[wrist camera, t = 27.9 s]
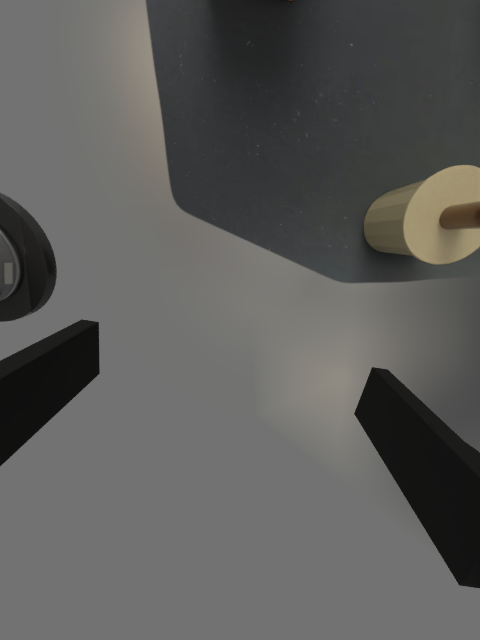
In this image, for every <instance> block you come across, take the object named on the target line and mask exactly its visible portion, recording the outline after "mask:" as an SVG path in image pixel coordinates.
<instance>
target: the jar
mask: <svg viewBox="0 0 480 640" xmlns="http://www.w3.org/2000/svg"><path fill="white" fill-rule="evenodd" d="M424 181H425V180H424ZM424 181H421V182H418V183H414V184H411V185H408V186H405V187H402V188H399V189H395V190H392V191H389V192H387V193H385V194H384V195H382V196H380V197H379V198H378V199H377V200H376V201H375V202H374V203H373V204H372V205H371V206H370V208H369V210H368V212H367V214H366V216H365V220H364V235H365V238H366V240H367V242H368V244H369V245H370V246H371V247H372V248H373V249H375V250H377V251H379V252H383V253H389V254H397V255H405V256H413V255H412V254H411V253H410V252H409V251H408V250H407V248H406V246H405V244H404V242H403V238H402V233H401V222H402V216H403V212H404V209H405V207H406V204H407V202H408V201H409V199H410V197H411V196H412V194H413V193H414V191H415V190H416V189H417V188H418V187H419V186H420V185H421V184H422V183H423V182H424Z"/></svg>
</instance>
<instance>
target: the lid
mask: <svg viewBox="0 0 480 640" xmlns="http://www.w3.org/2000/svg"><path fill="white" fill-rule="evenodd" d="M401 233H402V238H403V242H404V244H405V246H406V248H407V250H408V251H409V252H410V253H411V254H412V255H413V256H414V257H415V258H417V259H418V260H420V261H423V262H425V263H430V264H448V263H452V262H455V261H458V260H460V259H463V258H464V257H466V256H468V255H470V254H471V253H472V252H474V251H475V250H476V249H477V248H478V247H480V168H478V167H475V166H470V165H458V166H453V167H449V168H446V169H443V170H441V171H439V172H437V173H435V174H433V175H432V176H430V177H429V178H427V179H426V180H425V181H424V182H423V183H422V184H421V185H420V186H419V187H418V188H417V189H416V190H415V191H414V193H413V194H412V196H411V197H410V199H409V201H408V202H407V204H406V207H405V209H404V212H403V216H402V222H401Z"/></svg>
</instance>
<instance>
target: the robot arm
mask: <svg viewBox="0 0 480 640" xmlns="http://www.w3.org/2000/svg"><path fill="white" fill-rule="evenodd" d="M23 277H24V264H23V259H22V256H21V253H20V251H19V248H18V247H17V245H16V243H15V241H14V240H13V238H12V237H11V236H10V235H9V233H8V232H7V231H6V230H5V229H4V228H3V227H2V226H1V225H0V301H2V300H5V299H8V298H10V297H11V296H13V295H14V294H15V293H16V292H17V291H18V290H19V288H20V286H21V284H22V281H23ZM98 374H99V323H98V322H94V321H88V320H80V321H78V322H76V323H74V324H72V325H70V326H68V327H67V328H64V329H62V330H60V331H58V332H57V333H55V334H53V335H51V336H49V337H47V338H45V339H43V340H41V341H39V342H37V343H35V344H33V345H31V346H29V347H27V348H25V349H23V350H21V351H19V352H17V353H15V354H13V355H11V356H9V357H7V358H5V359H3V360H1V361H0V466H1V465H2V464H3V463H4V462H5V461H6V460H8V459H9V458H10V456H12V455H13V454H14V453H15V452H16V451H17V450H18V449H19V448H20V447H21V446H22V445H24V444H25V443H26V442H27V441H28V440H29V439H30V438H31V437H32V436H33V435H34V434H35V433H36V432H37V431H39V429H40V428H42V426H44V425H45V424H46V423H47V422H48V421H49V420H50V419H51V418H52V417H54V416H55V415H56V414H57V413H58V412H59V411H60V410H61V409H62V408H63V407H64V406H65V405H66V404H67V403H68V402H70V400H72V399H73V398H74V397H75V396H76V395H77V394H78V393H79V392H80V391H81V390H82V389H83V388H85V387H86V386H87V385H88V384H89V383H90V382H91V381H92V380H93V379H94V378H95V377H96V376H97V375H98ZM354 414H355V416H356V417H357V418H358V420H359V422H360V424H361V425H362V427H363V429H364V430H365V432H366V434H367V435H368V437H369V438H370V440H371V442H372V443H373V445H374V447H375V448H376V450H377V451H378V453H379V455H380V456H381V458H382V460H383V461H384V463H385V464H386V466H387V468H388V469H389V471H390V473H391V474H392V476H393V478H394V479H395V481H396V482H397V484H398V486H399V487H400V489H401V491H402V492H403V494H404V496H405V497H406V499H407V500H408V502H409V504H410V505H411V507H412V509H413V510H414V512H415V514H416V515H417V517H418V518H419V520H420V522H421V523H422V525H423V527H424V528H425V530H426V532H427V533H428V535H429V536H430V538H431V540H432V541H433V543H434V545H435V546H436V548H437V550H438V551H439V553H440V554H441V556H442V558H443V559H444V561H445V563H446V564H447V566H448V568H449V569H450V571H451V572H452V574H453V576H454V577H455V579H456V581H457V582H458V584H459V585H461V586H468V587H475V588H480V453H479V452H478V451H477V450H476V449H474V448H473V447H471V446H470V445H468V444H467V443H465V442H464V441H463V440H462V439H461V438H460V437H459V436H458V435H457V434H456V433H455V432H454V431H452V430H451V429H450V428H449V427H448V426H447V425H446V424H445V423H444V422H443V421H442V420H441V419H440V418H439V417H437V416H436V415H435V414H434V413H433V412H432V411H431V410H430V409H429V408H428V407H427V406H426V405H425V404H424V403H423V402H422V401H421V400H419V399H418V398H417V397H416V396H415V395H414V394H413V393H412V392H411V391H410V390H409V389H408V388H407V387H405V386H404V385H403V384H402V383H401V382H400V381H399V380H398V379H397V378H396V377H395V376H394V375H393V374H391V372H390V371H389V370H386V369H380V368H374V367H373V368H372V369H371V372H370V375H369V377H368V380H367V382H366V385H365V388H364V390H363V393H362V395H361V398H360V400H359V403H358V406H357V408H356V411H355V413H354Z"/></svg>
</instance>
